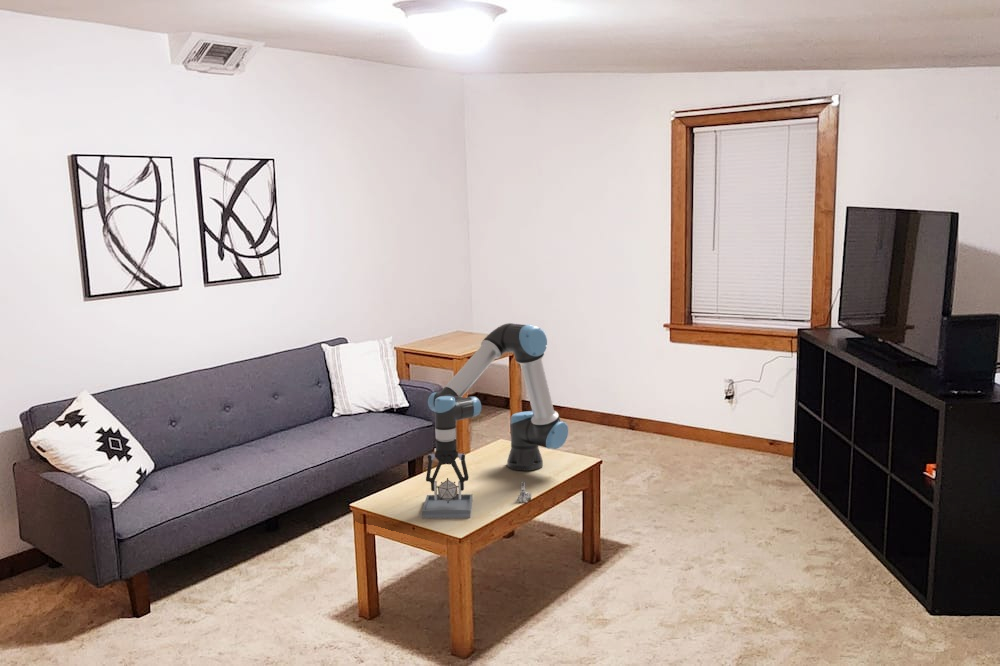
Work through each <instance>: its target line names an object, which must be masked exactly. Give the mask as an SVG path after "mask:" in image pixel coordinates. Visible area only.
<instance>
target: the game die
mask: <svg viewBox="0 0 1000 666" xmlns="http://www.w3.org/2000/svg"><path fill="white" fill-rule="evenodd" d="M436 487H437V496H438V495H439V496H440V497H441V499H440V500H442V499H443V500H445V501H447V503H449V501H450V500H452V499H454V498H455V497H456V496H457V495H458V496H459V493H458V487H459V486H458V485H457V484H456V481H451V480H449V478H448V477H447V478H446V480H445V481H441V482H440V485H437V486H436ZM454 500H455V499H454Z"/></svg>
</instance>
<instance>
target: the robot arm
mask: <svg viewBox="0 0 1000 666" xmlns="http://www.w3.org/2000/svg"><path fill="white" fill-rule="evenodd" d="M547 345H548V338H547V335H546V332H544V330H543V329H542V328H541V327H539V326H535V325H532V324H519V323H510V322H509V323H504V324H502V325H499V326H498V327H496V328H495V329H493V330H492V331H491V332H490V333H488V334H487V335H486V337H485V338H483V340H482V341H481V342H480V347H479V348H478V349H477V350H476V351H475V353H473V355H472V356H471V357H470V358H469V359H468V360H467V361H466V362H465V364H463V366H462V367H461V368H460V369H459V370H458V372H456V374H455V375H454V376H453V377H452V378H451V379H450V380H449V382H448V383H447V384H446V385H445V386H444V387H443V388H442V389H441V390H440V391H435V392H432V393H431V394H430V395H429V396H428V398H427V399H428V400H427V406H428V408H429V410H431V411H432V412H434V422H435V423H434V428H435V429H434V430H435V431H434V432H435V439H436V440H435V452H434V453H432V454H431V453H428V455H427V461H428V463H427V470H426V475H425V476H426V477H425V482H429V483H430V486H431V487H430V489H431V492H433V493H434V494H433V495H434V499H435V501H437V494H438V488H437V487H436V486H438V484H437V483H438V482H437V480H436V479H437V476H438V474H439V471H440V468H441V466H442V465H448V466H449V465H451V467H453V470H454V472H455V474H456V476H457V478H458V483H457V484H458V485H457V486H459V487H457V491H458V494H459V500H461V495H462V492H463V491H464V490H465V482H468V481H469V473H468V468H467V464H466V453H464V452H463V453H459V452H458V451H457V450H458V449H457V448H458V447H457V446H458V445H457V422H458V421H460V420H466V419H470V418H473V417H476V416H479V415H480V414H481V412H482V402H481V400H480V399H479V398H478V397H477V396H467V397H464V395H465V394H466V393H467V392H468V391H469V389H470V388H472V386H473V385H474V383H475V382H477V380H478V379H479V378H480V377H481V375H483V373H484V372H485V371H486V370H487V369H488V367H489V366H490V365H491V364H492V363H493V362H494V361H495V360H497V359H500V358H501V356H502V355H504V354H506V353H511V354H513V355H514V360H515V362H516V363H518V364H519V365H520V367H521V371H522V374H523V379H524V383H525V387H526V391H527V395H528V399H529V402H530V407H531V410H528V411H521V412H516V413H513V414H512V415H511V416H510V423H509V425H510V426H509V427H510V451H509V453H508V458H507V461H506V462H507V463H506V464H507V466H506V467H507V468H509V469H511V470H514V471H534V470H538V469H541V468H543V466H544V463H543V462H544V461H543V457H542V454H541V452H540V447H542V448H547V449H550V450H552V449H553V450H558V449H560V448H562V447H563V446H564V444H565V443H566V441H567V439H568V436H569V428H568V427H569V426H568V424H567V423H566V422H564V421H562V420H561V419H560V415H559V413H558V411H556V410H554V406H553V401H552V397H551V392H550V389H549V385H548V381H547V376H546V372H545V368H544V365H543V361H542V359H543V358H544V356H545V352H546V349H547ZM435 458H436V459H437V461H438V463H437V465H436V468H435V469H434V472H433V475H432V477H431V474H432V467H433V466H432V465H433V461H434V460H435ZM457 458H458V459H459V460H460V464H461V468H462V471H463V472H461V470H460V469H459V466H458V465H457V462H456V459H457ZM462 473H463V474H462Z"/></svg>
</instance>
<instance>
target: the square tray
mask: <svg viewBox="0 0 1000 666" xmlns="http://www.w3.org/2000/svg"><path fill="white" fill-rule="evenodd" d="M440 499H441V497H440V496H439V495H438V496H437V501H435V499H434V494H426V497H425V500H424V504H423V506H422V509H421V515H422V516H421V518H422V519H471V517H472V515H471V514H472V510H473V509H472V507H473V499H474V498H473V494H471V493H470V494H462V493H461V500H459V496H458V495H457V496H456V497H455V498H454V499H455V500H454V499H452V500H450V501H449V503H447V501H445V500H443V499H442V500H440Z"/></svg>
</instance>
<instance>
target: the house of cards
mask: <svg viewBox="0 0 1000 666" xmlns="http://www.w3.org/2000/svg"><path fill="white" fill-rule="evenodd" d="M520 486H521V491H520V492H519V494H518V495H517V502H516V503H518V504H519V503H520V504H522V503H523V504H524V503H525V504H527V503H528V501H532V493H531V492H528V491H526V482H525V481H521V482H520Z"/></svg>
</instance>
